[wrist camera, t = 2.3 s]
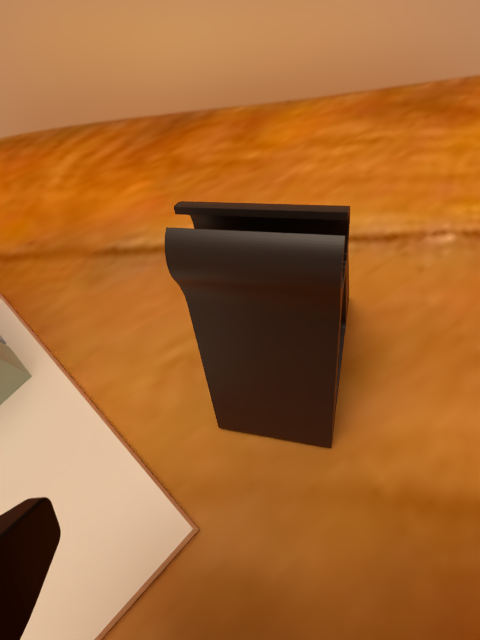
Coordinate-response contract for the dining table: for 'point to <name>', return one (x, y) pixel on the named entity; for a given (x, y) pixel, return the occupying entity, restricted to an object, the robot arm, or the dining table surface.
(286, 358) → the phone stand
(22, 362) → the bookshelf
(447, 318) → the dining table surface
